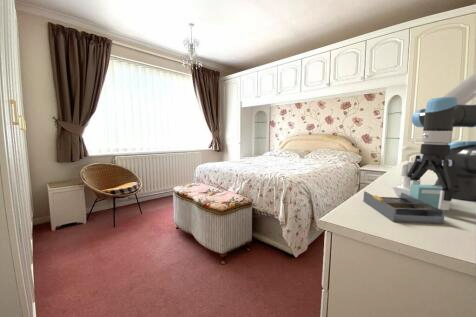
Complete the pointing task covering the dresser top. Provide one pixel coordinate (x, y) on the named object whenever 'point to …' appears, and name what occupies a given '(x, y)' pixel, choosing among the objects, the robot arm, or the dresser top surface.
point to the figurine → (404, 179)
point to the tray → (405, 209)
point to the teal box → (427, 193)
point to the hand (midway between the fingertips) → (427, 202)
